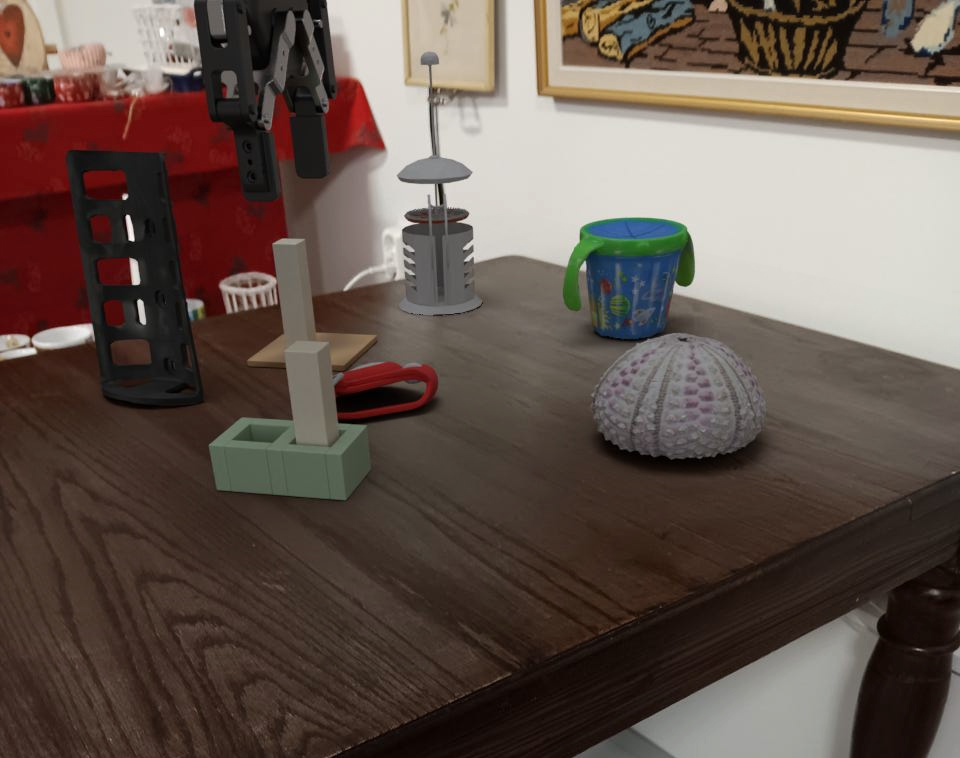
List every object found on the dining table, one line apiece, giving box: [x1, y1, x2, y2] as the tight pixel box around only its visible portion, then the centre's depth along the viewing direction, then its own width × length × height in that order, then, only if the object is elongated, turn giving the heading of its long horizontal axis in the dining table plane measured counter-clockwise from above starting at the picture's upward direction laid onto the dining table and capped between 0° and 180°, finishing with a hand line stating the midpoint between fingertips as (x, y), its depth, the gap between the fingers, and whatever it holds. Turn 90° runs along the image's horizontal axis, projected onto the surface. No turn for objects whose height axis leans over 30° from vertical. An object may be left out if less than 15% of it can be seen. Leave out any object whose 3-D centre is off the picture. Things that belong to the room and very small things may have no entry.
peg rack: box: [208, 416, 372, 501], centre depth 72 cm, size 10×6×4 cm, turn 77°
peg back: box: [271, 238, 317, 349], centre depth 97 cm, size 2×2×10 cm
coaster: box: [246, 332, 378, 372], centre depth 99 cm, size 10×10×1 cm
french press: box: [396, 51, 483, 316], centre depth 106 cm, size 10×12×25 cm
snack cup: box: [562, 216, 696, 340], centre depth 100 cm, size 16×10×10 cm
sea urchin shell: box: [589, 332, 768, 461], centre depth 76 cm, size 13×14×8 cm
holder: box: [65, 149, 205, 407], centre depth 86 cm, size 11×8×20 cm
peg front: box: [284, 341, 340, 447], centre depth 70 cm, size 2×2×10 cm
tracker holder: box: [333, 361, 439, 421], centre depth 85 cm, size 12×4×10 cm
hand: (289, 188), depth 63 cm, fingers open, 8 cm apart
